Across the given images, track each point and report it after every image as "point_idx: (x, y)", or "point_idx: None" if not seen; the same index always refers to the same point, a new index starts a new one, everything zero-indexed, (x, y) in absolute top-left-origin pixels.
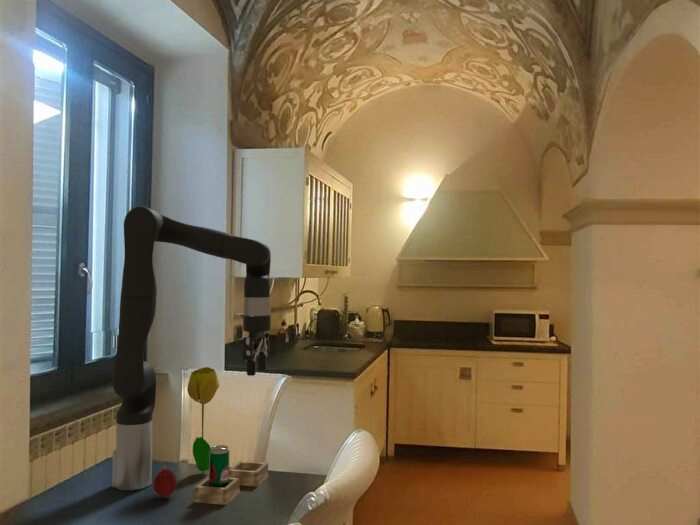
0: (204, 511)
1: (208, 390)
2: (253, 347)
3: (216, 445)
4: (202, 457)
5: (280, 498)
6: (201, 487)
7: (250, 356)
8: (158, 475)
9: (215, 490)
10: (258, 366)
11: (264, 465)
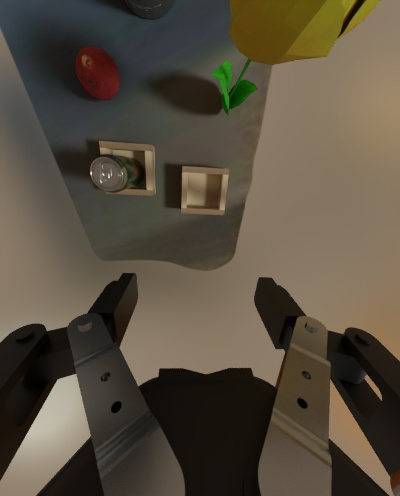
0: (85, 170)
1: (237, 35)
2: (2, 474)
3: (116, 163)
4: (223, 95)
5: (151, 244)
6: (100, 152)
7: (17, 384)
8: (78, 55)
9: None
10: (265, 286)
11: (212, 213)
